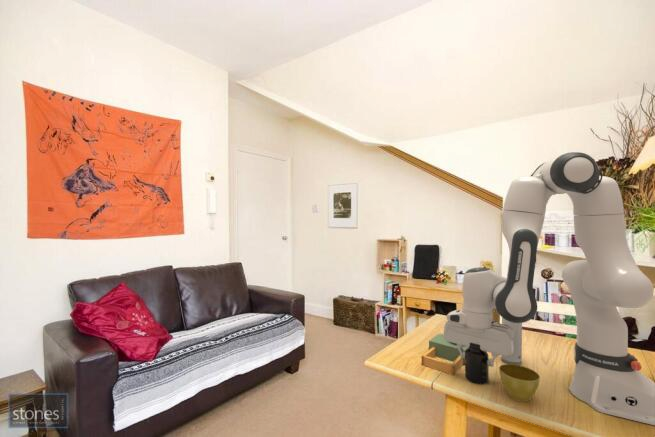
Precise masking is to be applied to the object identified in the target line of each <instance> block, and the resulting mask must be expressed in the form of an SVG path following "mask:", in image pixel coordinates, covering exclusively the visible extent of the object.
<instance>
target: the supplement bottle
mask: <svg viewBox="0 0 655 437" xmlns="http://www.w3.org/2000/svg"><path fill="white" fill-rule="evenodd" d="M488 353H489V352H486V351H482V350H481V349H480V345H478V344H474V343H470V347H469V348H467V349H466V351H465V365H464V376H465V378H466V380H467V381H468V382H469V383H472V384H476V385H486V384H487V383H489V380H490V378H489V377H490V376H489V375H490V374H489V371H490V370H489V369H490V368H489V367H490V366H488V365H487V364H488V363H487V360H488V359H490V356H489V354H488Z"/></svg>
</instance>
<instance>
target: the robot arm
mask: <svg viewBox="0 0 655 437" xmlns="http://www.w3.org/2000/svg"><path fill="white" fill-rule="evenodd" d="M561 194H562V195H564V194H566V195H568V196H569V198H570V200H571V202H572V206H573V211H572V212H573V226H574V227H573V228H574V241H575V243H576V244H577V246H578V247H579V248H580V249H581V251H582V252H583V255H584V257H585V259H579V260H572V261H570V262H568V263H566V265H564V266H563V268H562V272H561V278H562V281H563V283H564V284H565V286H566V287H567V288H568V291H569V293H570V294H569V295H570V297H571V300H572V303H573V307H574V311H575V312H574V313H575V316H576V342H575V344H574V347H573V348H574V349H573V350H574V352H573V354H574V358H573V359H574V363H575V365H574V372H573V377H572V379H571V382H570V385H569V388H568V389H569V392H570V393H571V394H572V395H573V396H574V397H576V398H577V399H579V400H581V401H582V402H584V403H586V404H588V405H589V406H590V407H592V408H593V409H594V410H595V411H596V412H599V413H602V414H606V415H610V416H615V417H619V418H623V419H627V420H631V421H635V422H640V423H643V424H647V425H648V424H649V425H652V426H655V382H654V381H653V380H652V379H650V378H649V377H648V376H646V375H645V374H644V373H643V372H641V371H640V370H642V364H641V363H640V362H639V361H638V359H637V357H636V356H635V354H631V353H629V352H628V350H629V349H628V348H629V347H628V346H629V345H628V344H629V342H628V341H629V329H628V328H629V327H628V325H627V323H626V321H625V320H624V318H623V317H622V315H621V314H620V312H619V309H618V308H626V309H639V308H643V307H644V306H646V305H647V304H649V303H650V302H651V300H652V298H653V296H654V291H655V290H654V285H653V283H652V281H651V280H650V278H649V277H647V275H646V274H644V273H643V271H642V270H641V269H640V268H639V266H638V264H637V263H636V261H635V260H634V257H633V255H632V253H631V250H630V247H629V244H628V241H627V240H628V239H627V234H626V224H625V209H624V203H623V202H624V201H623V197H622V193H621V190H620V187H619V183H618V182H617V181H616V180H615V179H614V178H612V177H609V176H604V175H603V172H602V171H601V170H600V168H599V165H598V163H597V162H596V161H595V159H594V158H593V157H592V156H590V155H589V154H587V153H584V152H580V151H579V152H578V151H573V152H572V151H571V152H566V153H564V154H560V155H557V156H554V157H552V158H550V159H549V160H547V161H545V162H542V164H540V165H539V166H538V167H536V169H535V170H534V171H533V173H531V175H524V176H520V177H516V178H515V179H514V180H513V181H511V183H510V184H509V187H508V190H507V193H506V196H505V200H504V204H503V208H502V211H501V212H502V213H501V232H502V234H503V236H504V239H505V240H506V243H507V245H508V250H509V258H508V265H507V274H506V277H504V276H502V275H500V274H498V273H496V272H494V271H493V270H492V269H490V268H488V267H473V268H470V269H467V270H466V271H465V272H464V274H463V277H462V278H463V279H462V288H461V289H462V299H463V303H462V308H461V309H455V310H453V311H450V312H448V314H446V320H447V321H445V324H444V327H443V335H444V339H445V340H446V341H448V342H452V343H456V344H457V348H458V350H459V352H460V358H463V359H465V352H464V350H463V348H462V346H467V347H470V343H474V344H478V345H480V349H481V350H482V351H486V352H487V353H490V354H491V357H492V358H489V359H488V360H487V363H488V364H487V365H488V366H489V367H491V368H494V365H495V361H496V359H497V357H498V356H501V357H502V356H505V357H510V356H511V355H512V354H513V352H514V346H513V339H514V330H513V329H512V328H511V327H509V325H506V324H502V323H501V322H498V321H497V322H496V321H494V312H493V311H494V309H496V310H497V313H498V314H499V315H500V317H501V318H502V317H503V318H504V319H505V320H507V321H509V322H513V323H522V324H524V323H526V322H529V321H530V320H532V319H533V318H534V317H535V315H536V314H537V310H538V302H537V299H536V295H535V291H534V278H535V270H536V263H537V262H536V261H537V252H538V246H539V243H540V238H541V235H542V232H543V231H542V230H543V226H544V223H545V217H546V211H547V205H548V203H549V201H550V199H551V197H552V196H555V195H561ZM509 328H510V329H509Z"/></svg>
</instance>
